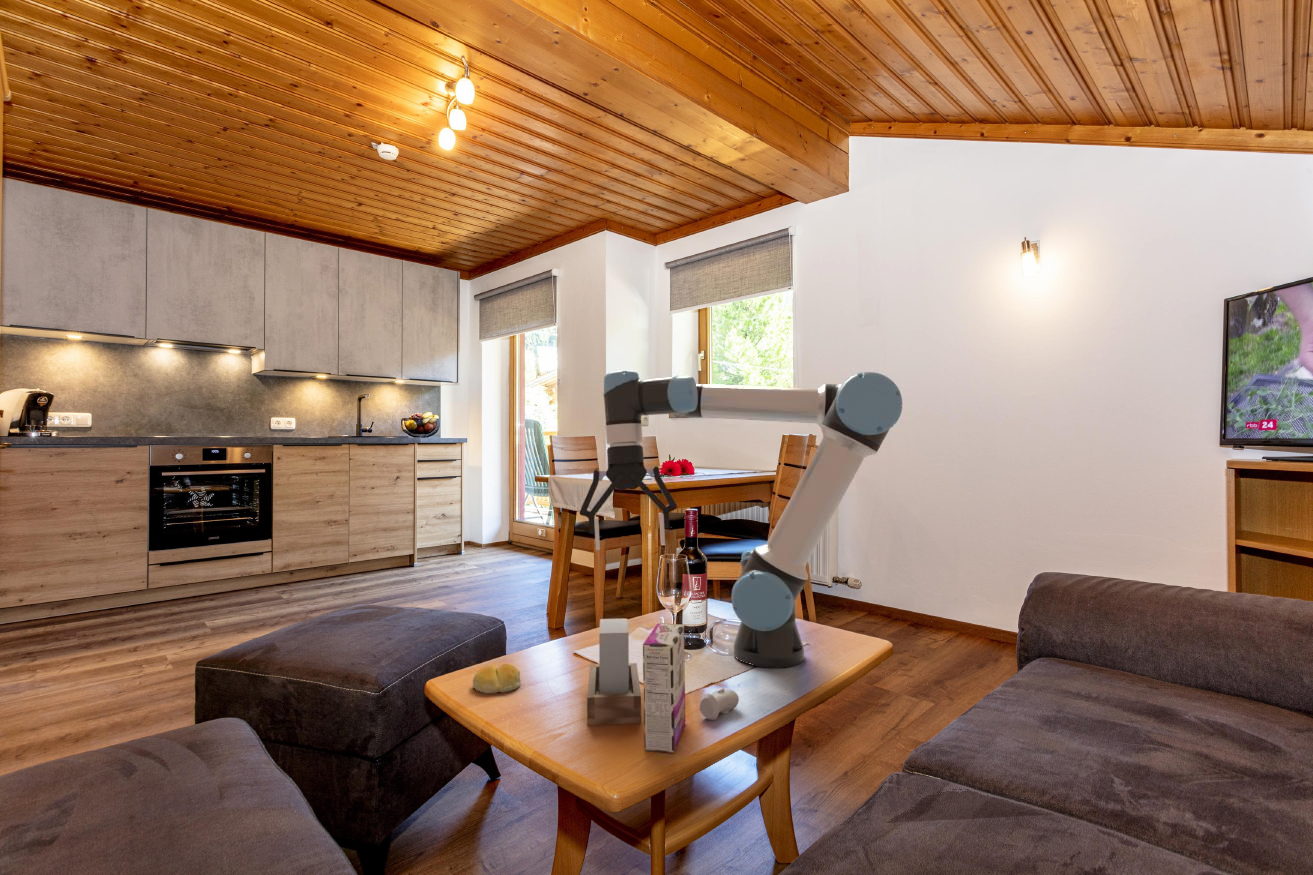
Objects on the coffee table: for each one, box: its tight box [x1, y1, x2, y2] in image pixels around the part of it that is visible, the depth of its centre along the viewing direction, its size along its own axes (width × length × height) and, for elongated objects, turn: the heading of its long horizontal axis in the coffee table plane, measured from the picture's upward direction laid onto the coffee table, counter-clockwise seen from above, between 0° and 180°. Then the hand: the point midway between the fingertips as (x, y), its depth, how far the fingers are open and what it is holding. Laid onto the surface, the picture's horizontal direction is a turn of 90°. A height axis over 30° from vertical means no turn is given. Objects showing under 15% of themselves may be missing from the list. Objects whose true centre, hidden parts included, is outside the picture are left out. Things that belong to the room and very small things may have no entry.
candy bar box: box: [642, 622, 687, 754], centre depth 100 cm, size 11×5×16 cm, turn 168°
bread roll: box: [472, 663, 521, 694], centre depth 122 cm, size 8×9×4 cm
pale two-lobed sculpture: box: [699, 687, 740, 721], centre depth 109 cm, size 4×8×5 cm
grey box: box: [598, 618, 630, 695], centre depth 113 cm, size 5×9×13 cm, turn 4°
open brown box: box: [586, 662, 642, 726], centre depth 113 cm, size 9×16×4 cm, turn 4°
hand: (630, 547), depth 132 cm, fingers open, 13 cm apart
